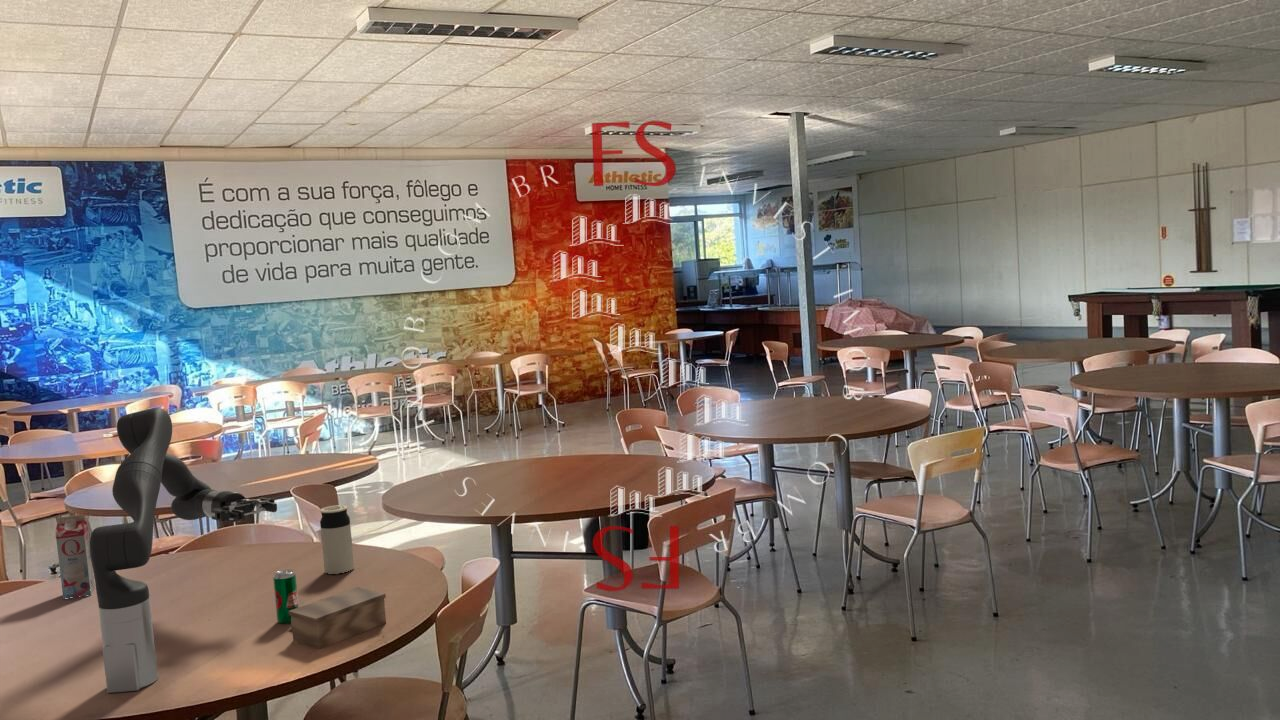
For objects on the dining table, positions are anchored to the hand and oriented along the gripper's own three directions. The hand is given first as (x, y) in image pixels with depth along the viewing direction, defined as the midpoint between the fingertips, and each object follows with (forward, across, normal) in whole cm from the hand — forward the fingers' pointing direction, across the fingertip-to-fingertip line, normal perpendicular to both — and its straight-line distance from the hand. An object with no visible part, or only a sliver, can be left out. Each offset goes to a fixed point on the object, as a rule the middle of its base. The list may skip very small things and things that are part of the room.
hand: (259, 511), depth 234 cm
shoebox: (+27, +2, +26) cm, 37 cm away
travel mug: (-17, +32, +26) cm, 44 cm away
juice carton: (-68, -16, +26) cm, 74 cm away
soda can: (+8, 0, +26) cm, 27 cm away
